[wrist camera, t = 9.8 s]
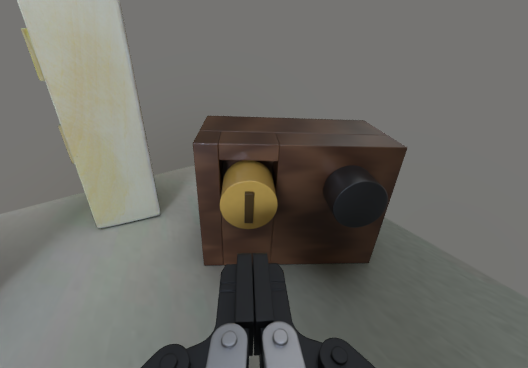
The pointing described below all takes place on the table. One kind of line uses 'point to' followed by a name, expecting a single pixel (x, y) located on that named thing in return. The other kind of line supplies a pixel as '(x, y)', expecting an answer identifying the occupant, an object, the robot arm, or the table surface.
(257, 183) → the brass knob
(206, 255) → the control box
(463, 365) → the table surface
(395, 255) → the table surface
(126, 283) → the table surface
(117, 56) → the toy refrigerator
